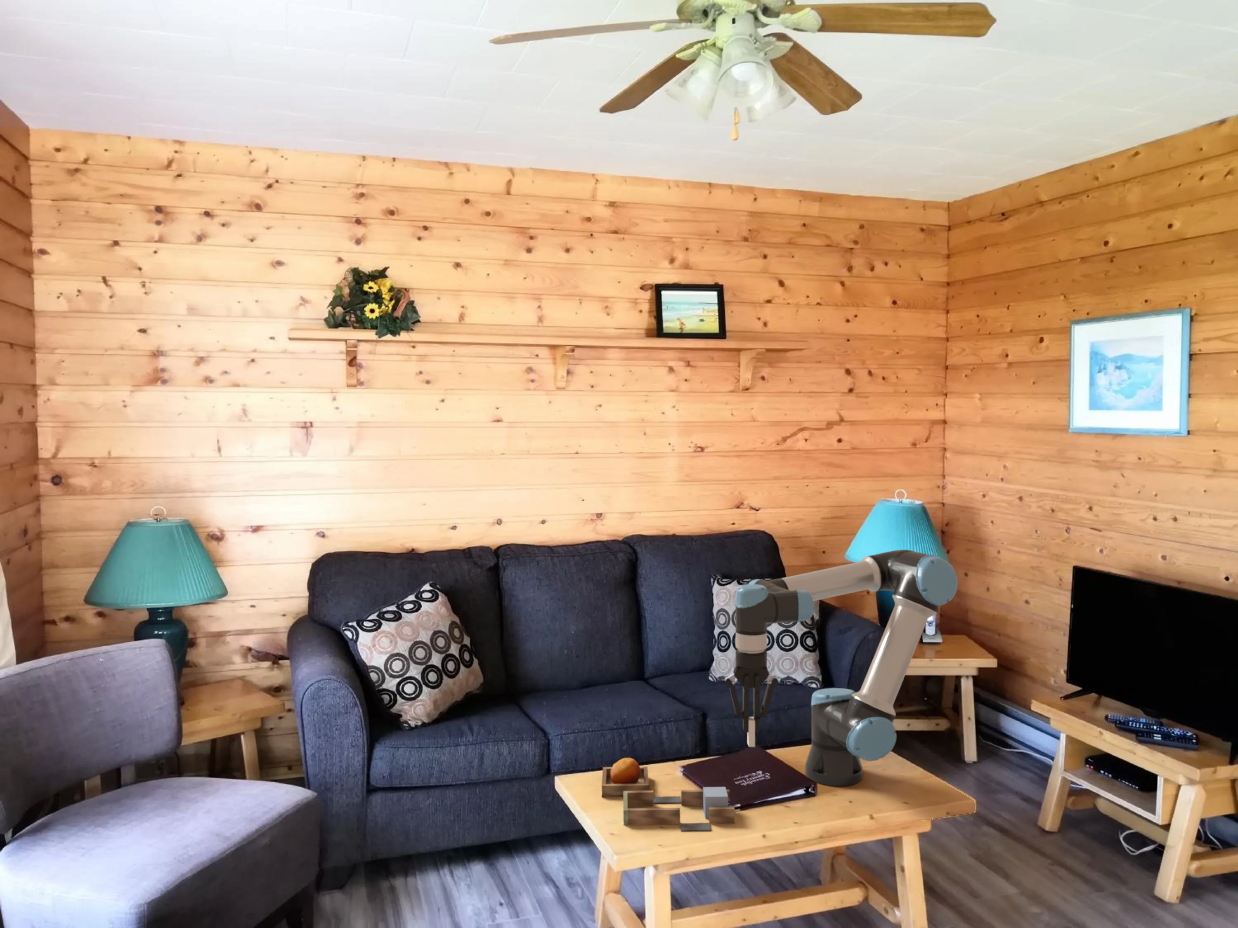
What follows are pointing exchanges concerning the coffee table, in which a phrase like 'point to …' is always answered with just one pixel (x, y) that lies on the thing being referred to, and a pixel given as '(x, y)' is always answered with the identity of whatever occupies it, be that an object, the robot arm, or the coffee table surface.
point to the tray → (617, 789)
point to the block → (714, 798)
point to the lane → (671, 810)
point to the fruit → (625, 772)
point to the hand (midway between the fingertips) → (751, 744)
